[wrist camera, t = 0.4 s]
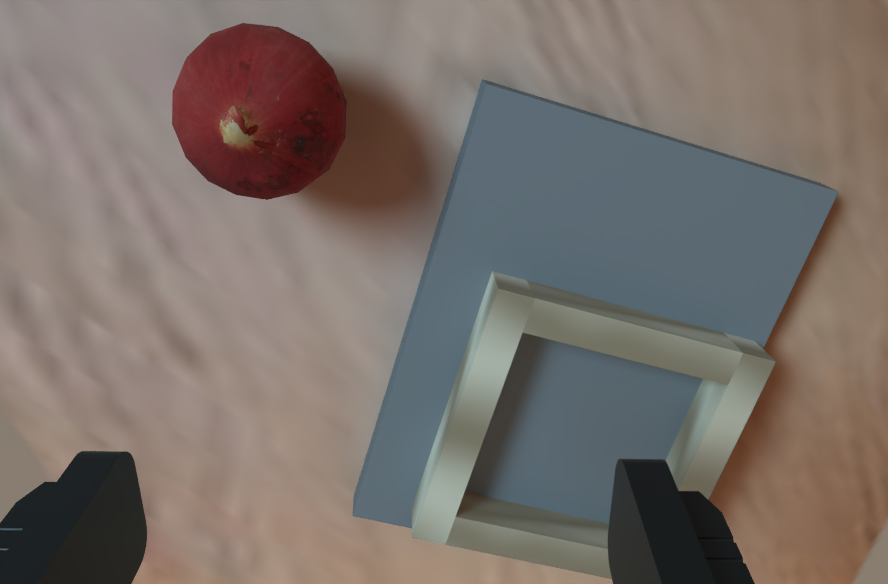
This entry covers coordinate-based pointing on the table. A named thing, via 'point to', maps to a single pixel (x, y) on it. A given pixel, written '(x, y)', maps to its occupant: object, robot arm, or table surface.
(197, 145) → the onion
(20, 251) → the table surface
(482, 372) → the square frame
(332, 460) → the table surface
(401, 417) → the build board
